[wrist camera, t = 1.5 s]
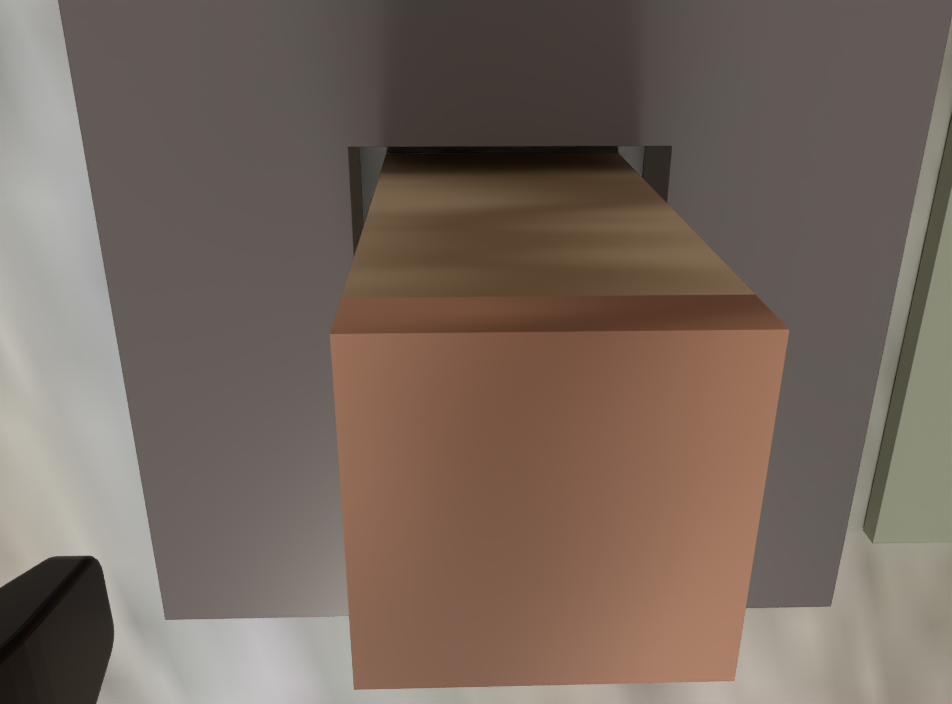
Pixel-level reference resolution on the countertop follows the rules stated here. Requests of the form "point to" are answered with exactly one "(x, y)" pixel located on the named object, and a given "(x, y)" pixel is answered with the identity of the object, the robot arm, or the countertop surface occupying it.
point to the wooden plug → (546, 429)
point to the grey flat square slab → (473, 124)
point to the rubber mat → (921, 400)
